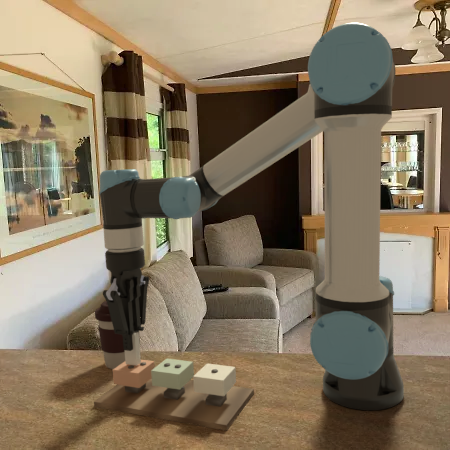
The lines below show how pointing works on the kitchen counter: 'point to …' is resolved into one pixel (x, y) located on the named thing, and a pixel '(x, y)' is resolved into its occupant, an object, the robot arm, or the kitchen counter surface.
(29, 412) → the kitchen counter surface
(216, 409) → the key board
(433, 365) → the kitchen counter surface
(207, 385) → the tile one
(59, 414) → the kitchen counter surface
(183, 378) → the tile two
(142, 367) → the tile three
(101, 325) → the coffee cup
